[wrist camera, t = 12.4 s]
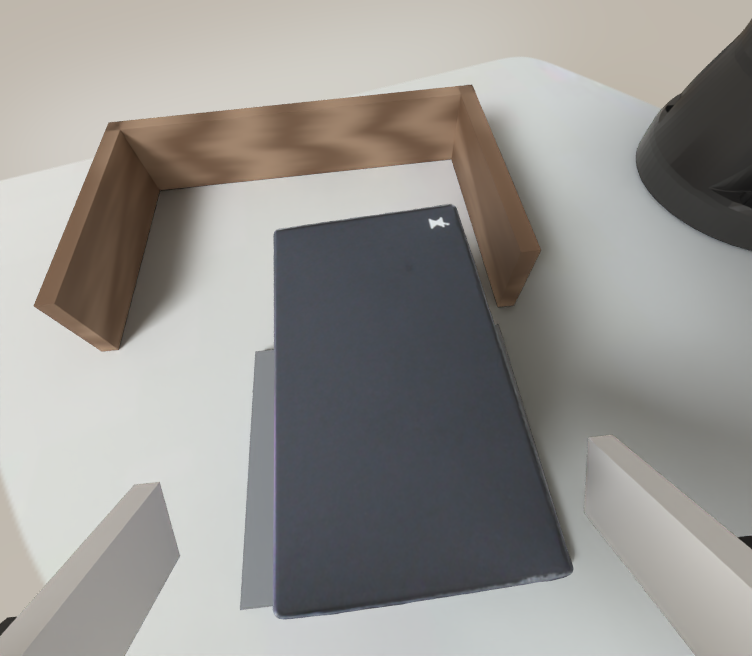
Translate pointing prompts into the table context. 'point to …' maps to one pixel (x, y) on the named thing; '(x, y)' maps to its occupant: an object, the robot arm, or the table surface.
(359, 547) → the small box
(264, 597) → the rubber mat
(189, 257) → the table surface
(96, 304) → the walnut bay
